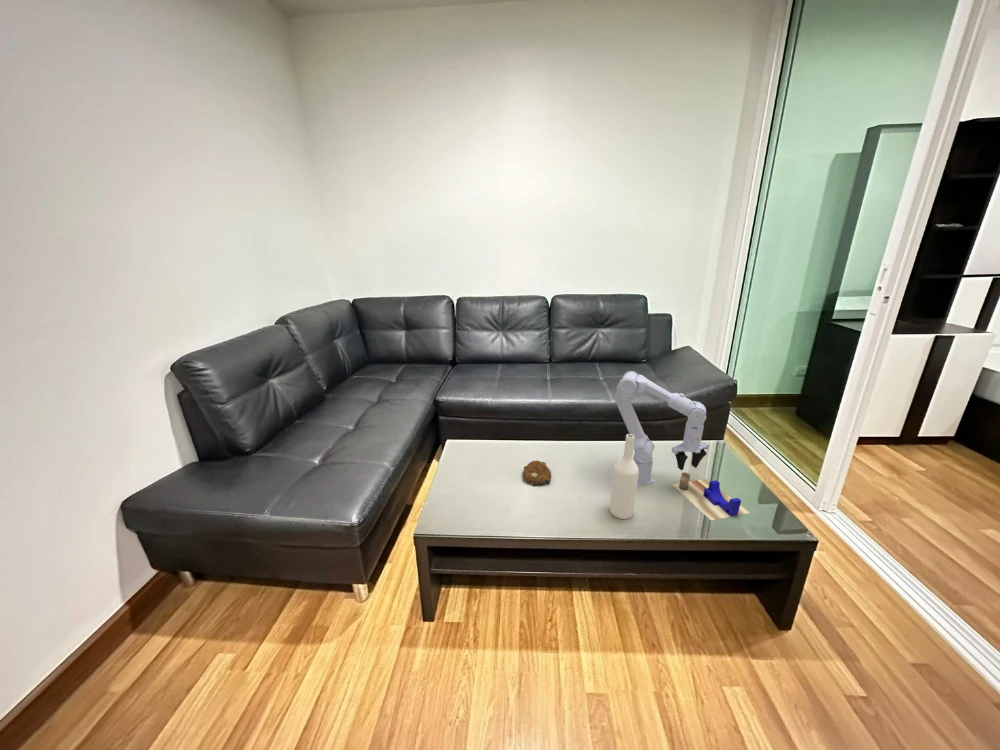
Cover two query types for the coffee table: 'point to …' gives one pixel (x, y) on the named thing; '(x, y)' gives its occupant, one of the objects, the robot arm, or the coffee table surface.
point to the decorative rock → (537, 473)
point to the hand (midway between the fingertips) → (687, 467)
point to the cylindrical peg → (684, 481)
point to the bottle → (624, 483)
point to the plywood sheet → (706, 500)
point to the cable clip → (721, 499)
